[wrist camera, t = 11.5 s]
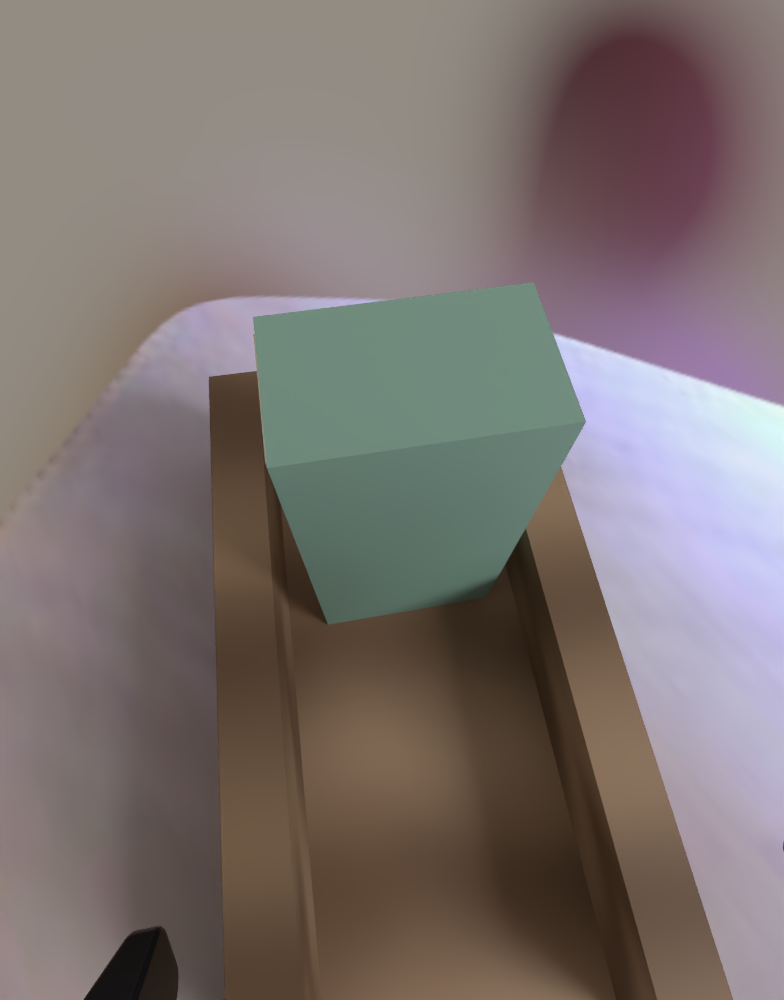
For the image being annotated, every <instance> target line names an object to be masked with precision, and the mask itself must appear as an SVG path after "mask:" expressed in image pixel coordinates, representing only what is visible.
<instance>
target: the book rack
mask: <svg viewBox="0 0 784 1000" xmlns="http://www.w3.org/2000/svg"><path fill="white" fill-rule="evenodd" d="M209 399H210V438H211V476H212V515H213V553H214V592H215V630H216V668H217V707H218V745H219V784H220V822H221V861H222V899H223V938H224V976H225V1000H733V998H732V995H731V992H730V989H729V986H728V982H727V979H726V976H725V973H724V970H723V967H722V964H721V961H720V958H719V955H718V951H717V948H716V945H715V942H714V939H713V936H712V933H711V930H710V927H709V924H708V920H707V917H706V914H705V911H704V908H703V905H702V902H701V899H700V896H699V893H698V889H697V886H696V883H695V880H694V877H693V874H692V871H691V868H690V865H689V862H688V859H687V855H686V852H685V849H684V846H683V843H682V840H681V837H680V834H679V831H678V828H677V824H676V821H675V818H674V815H673V812H672V809H671V806H670V803H669V800H668V797H667V793H666V790H665V787H664V784H663V781H662V778H661V775H660V772H659V769H658V766H657V763H656V759H655V756H654V753H653V750H652V747H651V744H650V741H649V738H648V735H647V732H646V728H645V725H644V722H643V719H642V716H641V713H640V710H639V707H638V704H637V701H636V697H635V694H634V691H633V688H632V685H631V682H630V679H629V676H628V673H627V670H626V666H625V663H624V660H623V657H622V654H621V651H620V648H619V645H618V642H617V639H616V636H615V632H614V629H613V626H612V623H611V620H610V617H609V614H608V611H607V608H606V605H605V601H604V598H603V595H602V592H601V589H600V586H599V583H598V580H597V577H596V574H595V570H594V567H593V564H592V561H591V558H590V555H589V552H588V549H587V546H586V543H585V539H584V536H583V533H582V530H581V527H580V524H579V521H578V518H577V515H576V512H575V509H574V505H573V502H572V499H571V496H570V493H569V490H568V487H567V484H566V481H565V478H564V474H563V471H562V468H561V467H560V468H559V470H558V472H557V474H556V476H555V477H554V479H553V481H552V483H551V484H550V486H549V488H548V490H547V491H546V493H545V495H544V497H543V498H542V500H541V502H540V504H539V506H538V507H537V509H536V511H535V513H534V514H533V516H532V518H531V520H530V521H529V523H528V525H527V527H526V528H525V530H524V532H523V534H522V535H521V537H520V539H519V541H518V543H517V544H516V546H515V548H514V550H513V551H512V553H511V555H510V557H509V558H508V560H507V562H506V564H505V565H504V567H503V569H502V571H501V573H500V574H499V576H498V578H497V580H496V581H495V583H494V585H493V587H492V588H491V590H490V592H489V594H488V595H487V597H486V598H482V599H476V600H470V601H464V602H458V603H453V604H447V605H441V606H435V607H429V608H423V609H417V610H411V611H405V612H399V613H393V614H388V615H382V616H376V617H370V618H364V619H358V620H352V621H346V622H340V623H334V624H327V621H326V618H325V616H324V613H323V611H322V608H321V606H320V603H319V601H318V598H317V595H316V593H315V590H314V588H313V585H312V583H311V580H310V577H309V575H308V572H307V570H306V567H305V565H304V562H303V559H302V557H301V554H300V552H299V549H298V547H297V544H296V541H295V539H294V536H293V534H292V531H291V529H290V526H289V523H288V521H287V518H286V516H285V513H284V511H283V508H282V505H281V503H280V500H279V498H278V495H277V493H276V490H275V487H274V485H273V482H272V480H271V477H270V475H269V472H268V470H267V467H266V464H265V456H264V445H263V434H262V422H261V411H260V400H259V389H258V378H257V371H255V372H246V373H238V374H229V375H221V376H213V377H209Z"/></svg>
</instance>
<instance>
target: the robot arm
mask: <svg viewBox="0 0 784 1000" xmlns="http://www.w3.org/2000/svg"><path fill="white" fill-rule="evenodd" d="M783 850H784V843H783ZM177 991H178V967H177V963H176V960H175V957H174V954H173V951H172V948H171V945H170V942H169V939H168V937H167V934H166V931H165V929H164V928H162V927H161V926H157V927H151V928H146V929H141V930H136V931H134V932H132V933H131V934H130V935H129V936H128V937H127V938H126V939H125V940H124V942H123V943H122V945H121V946H120V948H119V949H118V950H117V952H116V953H115V955H114V956H113V958H112V959H111V961H110V962H109V964H108V965H107V966H106V968H105V969H104V971H103V972H102V974H101V975H100V977H99V978H98V979H97V981H96V982H95V984H94V985H93V987H92V988H91V990H90V991H89V992H88V994H87V995H86V997H85V998H84V1000H177Z"/></svg>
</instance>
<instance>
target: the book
mask: <svg viewBox="0 0 784 1000" xmlns="http://www.w3.org/2000/svg"><path fill="white" fill-rule="evenodd" d="M253 320H254V331H255V334H254V345H255V356H256V367H257V378H258V389H259V400H260V411H261V422H262V434H263V445H264V456H265V464H266V467H267V470H268V472H269V475H270V477H271V480H272V482H273V485H274V487H275V490H276V493H277V495H278V498H279V500H280V503H281V505H282V508H283V511H284V513H285V516H286V518H287V521H288V523H289V526H290V529H291V531H292V534H293V536H294V539H295V541H296V544H297V547H298V549H299V552H300V554H301V557H302V559H303V562H304V565H305V567H306V570H307V572H308V575H309V577H310V580H311V583H312V585H313V588H314V590H315V593H316V595H317V598H318V601H319V603H320V606H321V608H322V611H323V613H324V616H325V618H326V621H327V624H334V623H340V622H346V621H352V620H358V619H364V618H370V617H376V616H382V615H388V614H393V613H399V612H405V611H411V610H417V609H423V608H429V607H435V606H441V605H447V604H453V603H458V602H464V601H470V600H476V599H482V598H486V597H487V595H488V594H489V592H490V590H491V588H492V587H493V585H494V583H495V581H496V580H497V578H498V576H499V574H500V573H501V571H502V569H503V567H504V565H505V564H506V562H507V560H508V558H509V557H510V555H511V553H512V551H513V550H514V548H515V546H516V544H517V543H518V541H519V539H520V537H521V535H522V534H523V532H524V530H525V528H526V527H527V525H528V523H529V521H530V520H531V518H532V516H533V514H534V513H535V511H536V509H537V507H538V506H539V504H540V502H541V500H542V498H543V497H544V495H545V493H546V491H547V490H548V488H549V486H550V484H551V483H552V481H553V479H554V477H555V476H556V474H557V472H558V470H559V468H560V467H561V465H562V463H563V461H564V460H565V458H566V456H567V454H568V453H569V451H570V449H571V447H572V446H573V444H574V442H575V440H576V438H577V437H578V435H579V433H580V431H581V430H582V428H583V426H584V424H585V423H586V420H585V418H584V415H583V413H582V410H581V407H580V405H579V402H578V399H577V397H576V394H575V391H574V389H573V386H572V383H571V381H570V378H569V375H568V373H567V370H566V367H565V365H564V362H563V359H562V357H561V354H560V351H559V349H558V346H557V343H556V341H555V338H554V335H553V333H552V330H551V328H550V325H549V322H548V320H547V317H546V314H545V312H544V309H543V306H542V304H541V301H540V298H539V296H538V293H537V291H536V288H535V285H534V283H525V284H517V285H510V286H501V287H493V288H485V289H476V290H468V291H461V292H452V293H444V294H436V295H428V296H421V297H412V298H404V299H396V300H388V301H379V302H371V303H363V304H355V305H347V306H339V307H331V308H323V309H315V310H307V311H299V312H291V313H283V314H275V315H266V316H258V317H253Z"/></svg>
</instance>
